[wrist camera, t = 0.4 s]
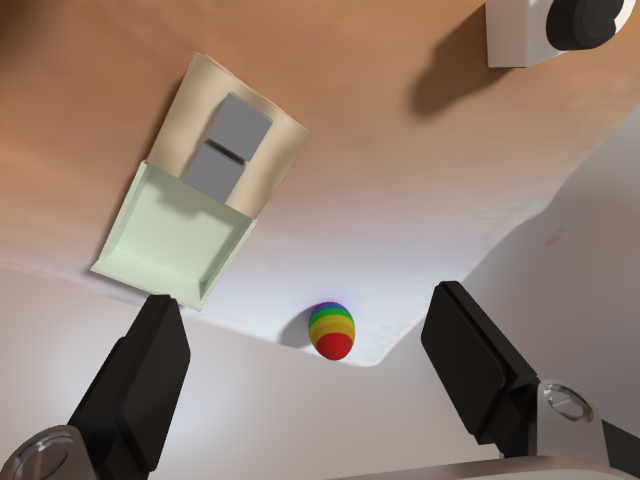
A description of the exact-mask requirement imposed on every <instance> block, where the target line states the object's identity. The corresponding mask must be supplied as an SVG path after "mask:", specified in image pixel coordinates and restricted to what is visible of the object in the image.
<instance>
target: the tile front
mask: <svg viewBox="0 0 640 480" xmlns="http://www.w3.org/2000/svg"><path fill="white" fill-rule="evenodd" d="M272 124H273V119H272V118H270V117H269V116H267V115H266V114H264V113H263V112H262V111H260V110H259V109H257V108H256V107H255V106H253V105H252V104H250V103H249V102H247V101H246V100H245V99H243V98H242V97H240V96H239V95H238V94H236V93H235V92H233V91H231V92H229V93H228V95H227V97H226V99H225V101H224V103H223V105H222V107H221V109H220V111H219V113H218V114H217V116H216V118H215V120H214V122H213V124H212V126H211V128H210V130H209V132H208V134H207V137H209V138H210V139H212V140H214V141H215V142H217V143H218V144H220V145H222V146H223V147H225V148H227V149H228V150H230V151H231V152H233V153H235V154H236V155H238V156H239V157H241V158H243V159H244V160H246V161H247V162H250V160H251V159H252V157H253V155H254V154H255V152H256V150H257V149H258V147H259V145H260V144H261V142H262V140H263V139H264V137H265V135H266V134H267V132H268V130H269V129H270V127H271V125H272Z"/></svg>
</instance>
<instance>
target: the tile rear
mask: <svg viewBox="0 0 640 480" xmlns="http://www.w3.org/2000/svg"><path fill="white" fill-rule="evenodd" d="M246 165H247V164H246V163H245V162H243V161H241V160H240V159H238V158H237V157H235V156H233V155H232V154H230V153H228V152H227V151H225V150H224V149H222V148H220V147H219V146H217V145H216V144H214V143H212V142H211V141H209V140H206V141H205V142H204V143H203V144H202V145H201V147H200V149H199V151H198V153H197V155H196V157H195V159H194V161H193V163H192V165H191V167H190V169H189V170H188V172H187V174H186V176H185V178H184V180H183V183H185V184H187V185H188V186H190V187H192V188H194V189H196V190H198V191H200V192H201V193H203V194H205V195H207V196H209V197H211V198H213V199H214V200H216V201H218V202H220V203H222V204H225V202H226V201H227V199H228V197H229V196H230V194H231V192H232V190H233V189H234V187H235V185H236V184H237V182H238V180H239V179H240V177H241V175H242V174H243V172H244V170H245V168H246Z"/></svg>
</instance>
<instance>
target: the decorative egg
mask: <svg viewBox="0 0 640 480" xmlns="http://www.w3.org/2000/svg"><path fill="white" fill-rule="evenodd" d="M309 335H310V339H311V341H312V344H313V345H314V347H315V349H316V350H317V351H318V352H319V353H320V354H321V355H322V356H323V357H325V358H327V359H329V360H340V359H342V358H344V357H345V356H346V355H347V354H348V353H349V352H350V350H351V348H352V346H353V343H354V339H355V325H354V321H353V319H352V316H351V315H350V313H349V312H348V310H347V309H346V308H345V307H343V306H342V305H340V304H338V303H335V302H326V303H323V304H321V305H319V306H318V307H317V308H316V309H315V310H314V311H313V313H312V314H311V317H310V320H309Z"/></svg>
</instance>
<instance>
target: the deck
mask: <svg viewBox="0 0 640 480" xmlns="http://www.w3.org/2000/svg"><path fill="white" fill-rule="evenodd" d="M231 91H233V92H235V93H236V94H238V95H239V96H240V97H242V98H243V99H245V100H246V101H247V102H249V103H250V104H252V105H253V106H255V107H256V108H257V109H259V110H260V111H262V112H263V113H264V114H266V115H267V116H269V117H270V118H272V119H273V124H272V125H271V127H270V129H269V130H268V132H267V134H266V135H265V137H264V139H263V140H262V142H261V144H260V145H259V147H258V149H257V150H256V152H255V154H254V155H253V157H252V159H251V160H250V162H247V161H246V160H244V159H243V158H241V157H239V156H238V155H236V154H235V153H233V152H231V151H230V150H228V149H227V148H225V147H223V146H222V145H220V144H218V143H217V142H215V141H214V140H212V139H210V138H209V137H207V134H208V132H209V130H210V128H211V126H212V124H213V122H214V120H215V118H216V116H217V114H218V113H219V111H220V109H221V107H222V105H223V103H224V101H225V99H226V97H227V95H228V93H229V92H231ZM310 136H311V135H310V132H309V130H308V128H306V127H305V126H304V125H302V124H301V123H300V122H298V121H297V120H295V119H294V118H293V117H291V116H290V115H289V114H287V113H286V112H284V111H283V110H282V109H280V108H279V107H278V106H276V105H275V104H273V103H272V102H271V101H269V100H268V99H267V98H265V97H264V96H262V95H261V94H260V93H258V92H257V91H256V90H254V89H253V88H251V87H250V86H249V85H247V84H246V83H245V82H243V81H242V80H241V79H239V78H238V77H236V76H235V75H234V74H232V73H231V72H230V71H228V70H227V69H225V68H224V67H223V66H221V65H220V64H219V63H217V62H216V61H214V60H213V59H212V58H210V57H209V56H208V55H206V54H201V53H197V52H195V54H194V57H193V59H192V61H191V63H190V65H189V68H188V70H187V72H186V74H185V77H184V79H183V81H182V83H181V85H180V88H179V90H178V92H177V94H176V97H175V99H174V101H173V103H172V105H171V108H170V110H169V112H168V114H167V116H166V119H165V121H164V123H163V125H162V128H161V130H160V132H159V134H158V136H157V139H156V141H155V143H154V145H153V148H152V150H151V152H150V154H149V156H148V159H147V162H149V163H151V164H152V165H154V166H156V167H158V168H160V169H162V170H163V171H165V172H167V173H169V174H171V175H173V176H175V177H176V178H178V179H180V180H182V181H183V180H184V178H185V176H186V174H187V172H188V170H189V169H190V167H191V165H192V163H193V161H194V159H195V157H196V155H197V153H198V151H199V149H200V147H201V145H202V144H203V143H204V142H205V141H206V140H209V141H211V142H212V143H214V144H216V145H217V146H219V147H220V148H222V149H224V150H225V151H227V152H228V153H230V154H232V155H233V156H235V157H237V158H238V159H240V160H241V161H243V162H245V163H246V164H247V165H246V168H245V170H244V172H243V174H242V175H241V177H240V179H239V180H238V182H237V184H236V185H235V187H234V189H233V190H232V192H231V194H230V196H229V197H228V199H227V201H226V202H225V204H226V205H228V206H230V207H232V208H234V209H235V210H237V211H239V212H241V213H243V214H245V215H246V216H248V217H250V218H252V219H254V220H256V218H257V217H258V215H259V214H260V212H261V211H262V209H263V208H264V206H265V205H266V203H267V201H268V200H269V198H270V197H271V195H272V194H273V192H274V191H275V189H276V188H277V186H278V185H279V183H280V182H281V180H282V179H283V177H284V176H285V174H286V173H287V171H288V170H289V168H290V167H291V165H292V164H293V162H294V161H295V159H296V158H297V156H298V155H299V153H300V152H301V150H302V149H303V147H304V145H305V144H306V142H307V141H308V139H309V138H310Z"/></svg>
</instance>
